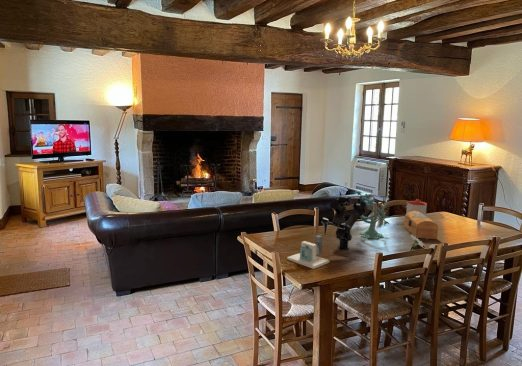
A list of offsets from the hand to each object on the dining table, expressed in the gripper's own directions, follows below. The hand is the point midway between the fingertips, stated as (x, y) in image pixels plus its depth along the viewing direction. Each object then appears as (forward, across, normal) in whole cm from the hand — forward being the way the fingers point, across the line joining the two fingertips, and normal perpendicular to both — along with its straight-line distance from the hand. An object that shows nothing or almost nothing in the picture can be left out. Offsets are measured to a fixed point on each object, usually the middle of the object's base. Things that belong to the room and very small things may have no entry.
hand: (331, 237), depth 249 cm
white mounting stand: (+20, -8, -9) cm, 23 cm away
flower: (-15, +50, +26) cm, 59 cm away
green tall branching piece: (-20, +24, +47) cm, 56 cm away
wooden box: (-36, +56, +63) cm, 92 cm away
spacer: (+20, -10, -12) cm, 25 cm away
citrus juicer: (-52, +54, +91) cm, 118 cm away
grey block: (+15, -6, -7) cm, 18 cm away
